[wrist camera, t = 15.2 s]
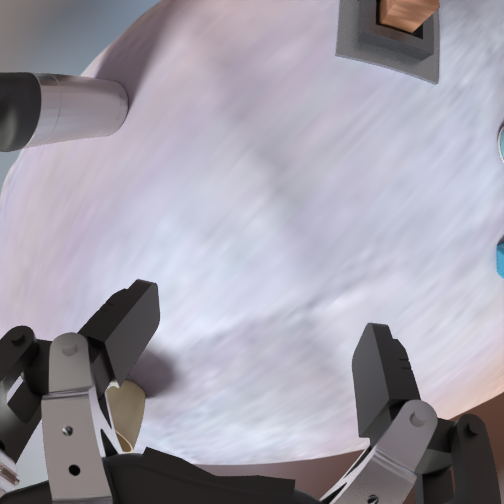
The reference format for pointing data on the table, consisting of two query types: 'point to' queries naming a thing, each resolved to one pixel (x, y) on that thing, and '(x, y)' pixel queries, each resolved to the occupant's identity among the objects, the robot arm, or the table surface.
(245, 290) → the table surface
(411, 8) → the terracotta peg
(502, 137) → the beverage can
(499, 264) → the data package
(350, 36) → the socket plate
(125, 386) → the plant pot
